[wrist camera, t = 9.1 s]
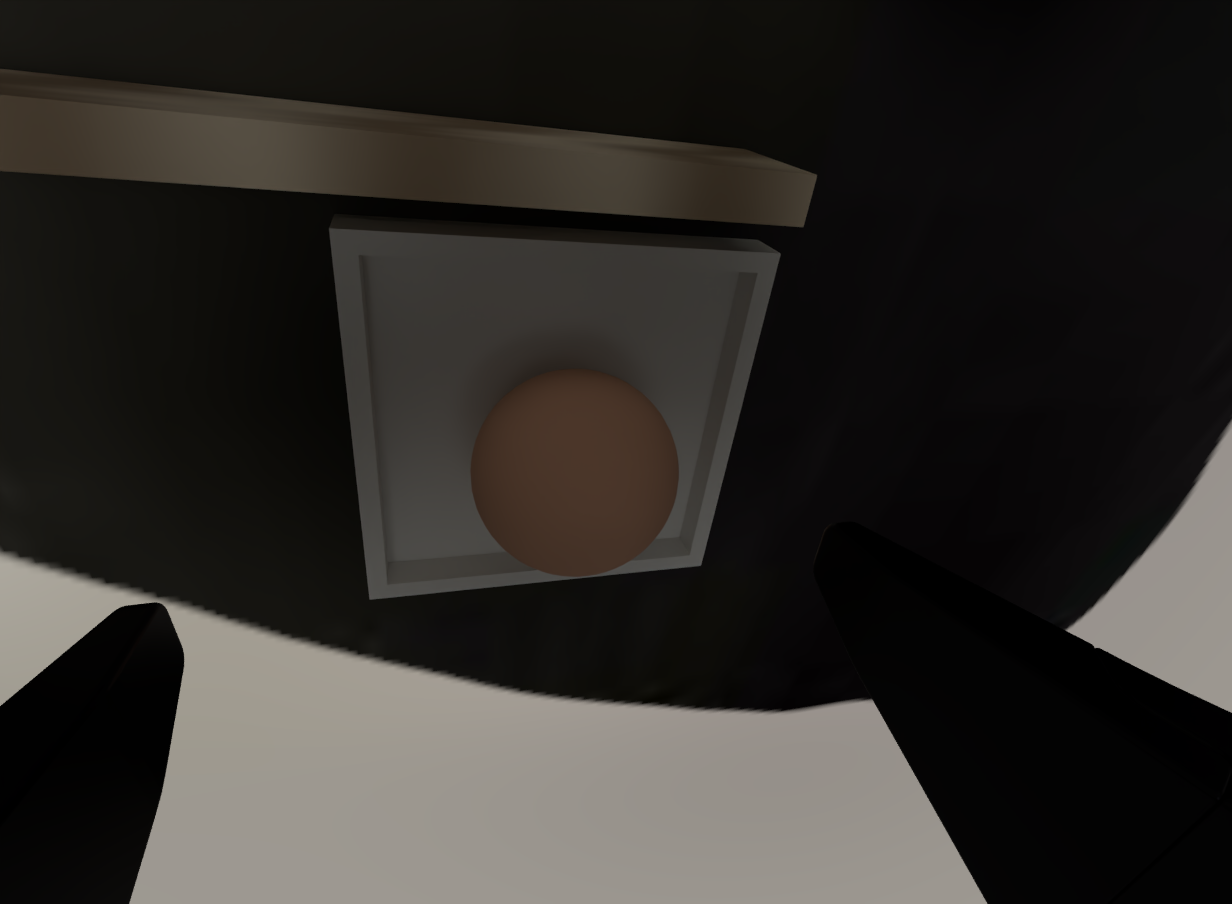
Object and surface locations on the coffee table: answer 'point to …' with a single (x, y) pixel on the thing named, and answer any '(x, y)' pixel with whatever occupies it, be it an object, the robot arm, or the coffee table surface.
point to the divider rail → (378, 153)
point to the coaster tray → (528, 370)
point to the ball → (574, 472)
